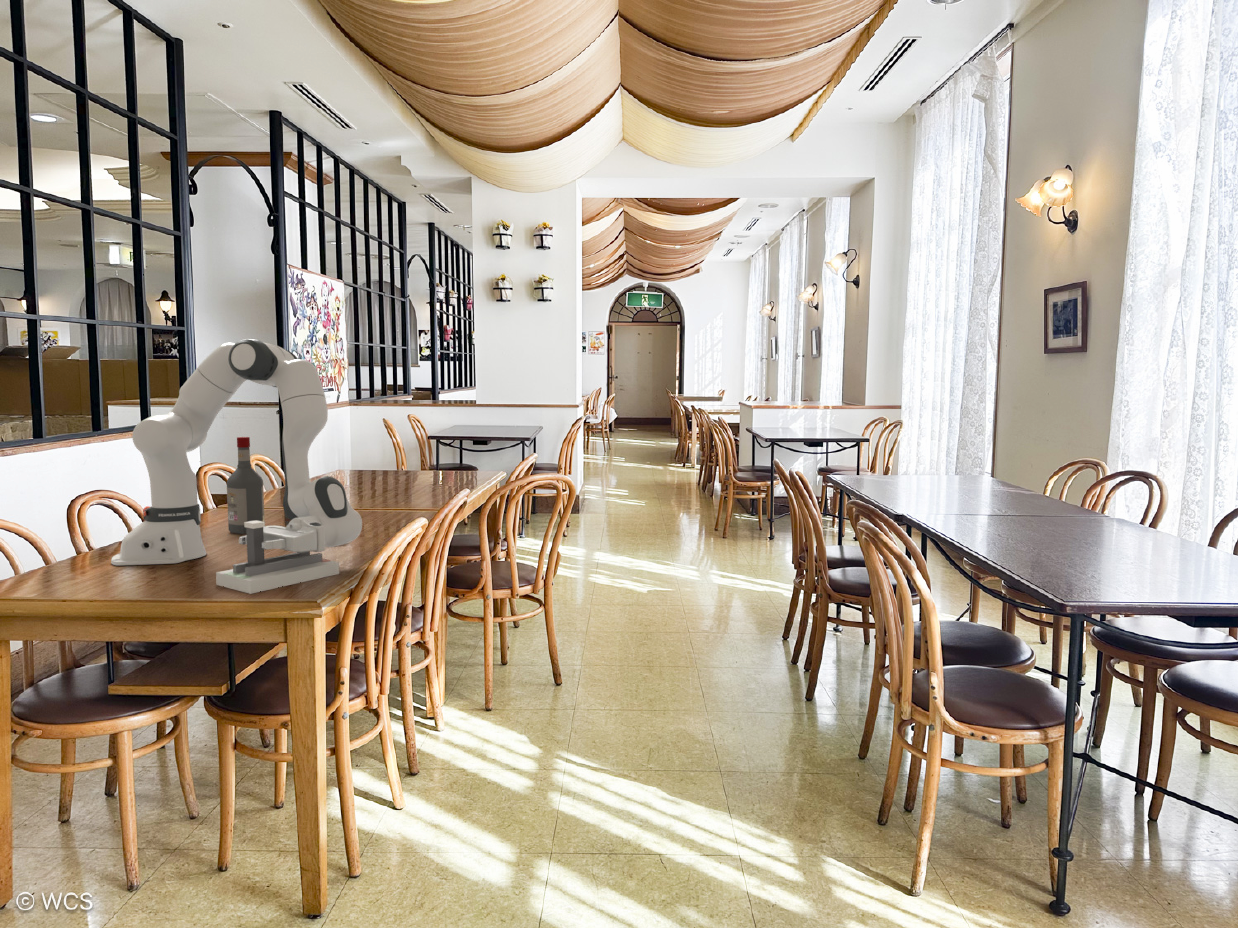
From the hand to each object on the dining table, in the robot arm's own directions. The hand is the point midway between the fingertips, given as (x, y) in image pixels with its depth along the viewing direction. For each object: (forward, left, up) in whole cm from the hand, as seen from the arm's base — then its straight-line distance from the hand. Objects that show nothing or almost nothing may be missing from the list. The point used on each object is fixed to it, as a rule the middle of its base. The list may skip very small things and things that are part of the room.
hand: (251, 543), depth 196 cm
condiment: (+11, +60, -10) cm, 61 cm away
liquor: (-2, +75, -10) cm, 75 cm away
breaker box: (+6, +4, -10) cm, 12 cm away
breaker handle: (+1, 0, -7) cm, 7 cm away
